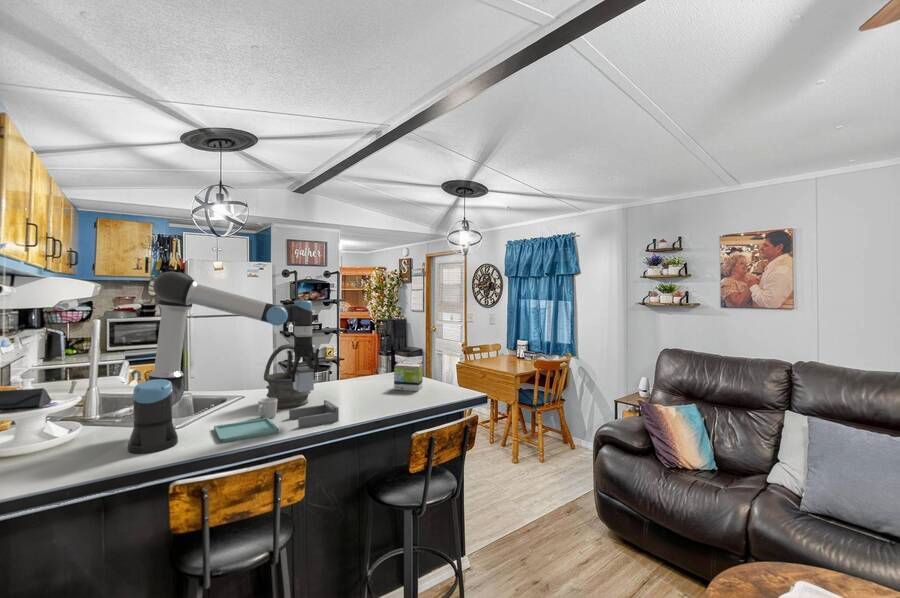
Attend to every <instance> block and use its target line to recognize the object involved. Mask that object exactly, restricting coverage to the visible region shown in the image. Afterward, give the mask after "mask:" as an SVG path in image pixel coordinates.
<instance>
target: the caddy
mask: <svg viewBox="0 0 900 598" xmlns="http://www.w3.org/2000/svg"><path fill="white" fill-rule="evenodd" d="M295 374H297V391H299V392H304V391H311V392H312V391H314V383H315V381H314V369H312V368H310V367H308V366H307V365H304V366H298V367H297V370H296V373H295ZM293 388H294V382H293Z"/></svg>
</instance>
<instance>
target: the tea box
mask: <svg viewBox="0 0 900 598" xmlns="http://www.w3.org/2000/svg"><path fill="white" fill-rule="evenodd" d="M423 370H424V364H423V363H412V362H398V363H397V364H395V365H394V368H393V375H394V376H393V390H394V391H409V392H410V391H411V392H419V391H420V390H421V389H423V378H424V376H423V375H424V373H423Z"/></svg>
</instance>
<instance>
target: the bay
mask: <svg viewBox="0 0 900 598" xmlns="http://www.w3.org/2000/svg"><path fill="white" fill-rule="evenodd" d="M339 409H340V408H339V407H338V406H337V405H335V404H333V403H332V402H330V400H329V401H328V400H327V399H325V400H323V404H319V405H313V406H307V407H300V408H292V409H289V410H288V419H289V420H295V419H297V424H298V425H297V427H298V429H302V428H303V429H304V428H309V427H314V426H318V425H319V424H320V425H325V424H329V423H330V422H331V423H336V422H335V421H337V422H339V415H340V414H339V412H340V410H339Z"/></svg>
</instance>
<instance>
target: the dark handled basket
mask: <svg viewBox="0 0 900 598" xmlns="http://www.w3.org/2000/svg"><path fill="white" fill-rule="evenodd" d="M293 348H294V344H291V343H289V344H288V343H287V344H281V346H278V347H277V348H276V349H275V350H273V352H272V353H271V355H270V356H269V358H268V360H267V363H266V366H265V370H264V373H263V380H264V381H265V382H267V384H268V385H267V386H265V388H266V389H267V393H266V395H265V396H266V398H277V400H278V401H277V409H287V408H288V409H289V408H296V407H301V406H304V405H306V404H308V403H309V399H308V398H309V395H310V394H311V393H312V391H304V392H299V391H297V390H295V389H294V388H293V382H292V381H291V374H289V373H287V371H284V372H276V373H272V374H271V373H270V372H271V371H270V369H271V366H272V364H273V361H274V360H275V358H276V357H277V356H278V354H280V353H281V352H283V351H285V350H292V349H293ZM302 358H303V360H304V361H305V363H306V366H308V367H309V364H308V361H307V358H306V357H302Z"/></svg>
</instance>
